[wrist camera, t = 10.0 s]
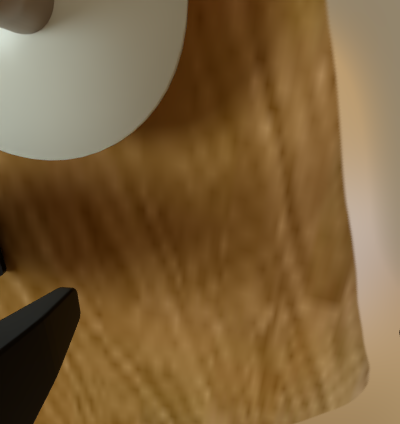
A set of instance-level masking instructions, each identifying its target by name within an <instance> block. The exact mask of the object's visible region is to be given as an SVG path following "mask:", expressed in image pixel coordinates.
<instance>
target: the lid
mask: <svg viewBox="0 0 400 424" xmlns="http://www.w3.org/2000/svg"><path fill="white" fill-rule="evenodd" d="M187 15H188V0H0V150H1V151H4V152H7V153H10V154H13V155H17V156H21V157H26V158H30V159H40V160H68V159H74V158H80V157H84V156H87V155H90V154H93V153H97V152H100V151H102V150H104V149H106V148H108V147H110V146H112V145H114V144H116V143H118V142H120V141H121V140H123V139H124V138H126V137H127V136H129V135H130V134H132V133H133V132H134V131H135V130H136V129H137V128H139V127H140V126H141V125H142V124H143V123H144V122H145V121H146V120H147V119H148V118H149V116H150V115H151V114H152V113H153V111H154V110H155V109H156V108H157V106H158V105H159V103H160V102H161V100H162V98H163V97H164V95H165V93H166V92H167V90H168V88H169V86H170V84H171V81H172V79H173V77H174V74H175V72H176V70H177V66H178V63H179V60H180V56H181V53H182V50H183V44H184V39H185V33H186V28H187Z"/></svg>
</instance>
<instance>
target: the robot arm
mask: <svg viewBox="0 0 400 424" xmlns="http://www.w3.org/2000/svg"><path fill="white" fill-rule="evenodd" d="M5 272H6V266H5V262H4V259H3V255H2V252H1V248H0V276H1V275H3V274H4V273H5ZM79 319H80V306H79V300H78V294H77V291H76V289H74V288H67V287H60V288H58V289H56V290H54V291H52V292H50V293H49V294H47V295H45V296H43V297H41V298H40V299H38V300H36V301H34V302H32V303H31V304H29V305H27V306H25V307H24V308H22V309H20V310H18V311H16V312H15V313H13V314H11V315H9V316H7V317H6V318H4V319H2V320H0V424H33V423H34V421H35V419H36V417H37V415H38V413H39V411H40V409H41V407H42V405H43V403H44V401H45V400H46V398H47V396H48V394H49V392H50V390H51V388H52V386H53V384H54V381H55V379H56V377H57V375H58V373H59V370H60V368H61V365H62V363H63V360H64V358H65V355H66V353H67V350H68V348H69V345H70V342H71V340H72V337H73V335H74V332H75V330H76V327H77V324H78V322H79ZM399 333H400V332H399Z"/></svg>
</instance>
